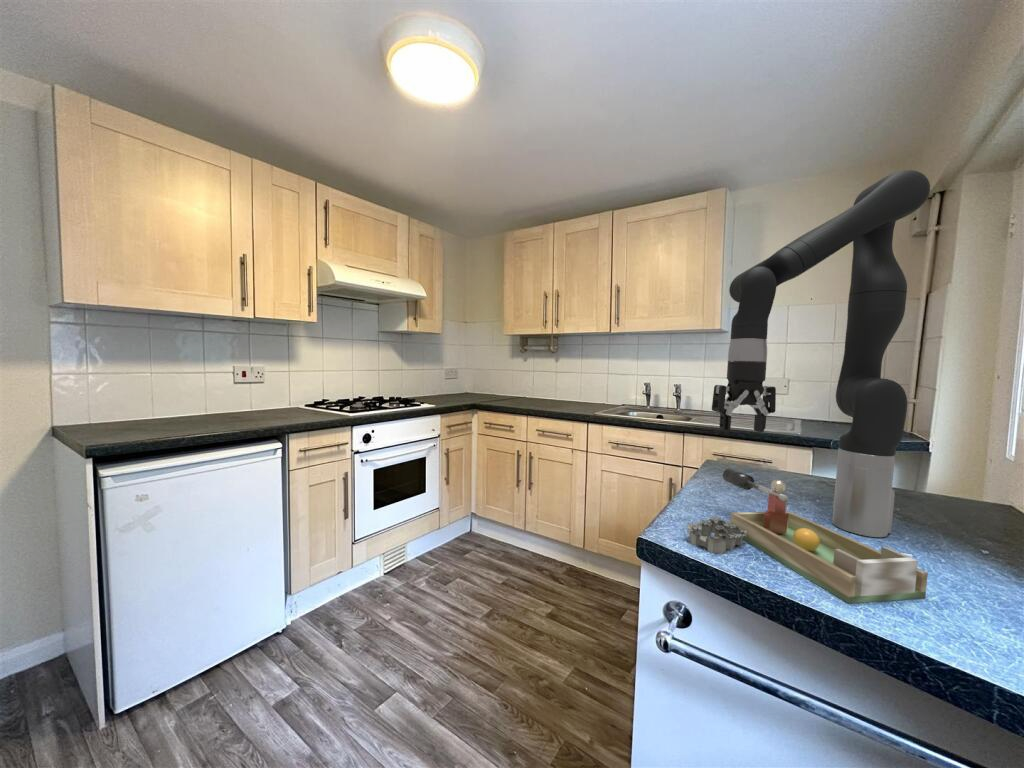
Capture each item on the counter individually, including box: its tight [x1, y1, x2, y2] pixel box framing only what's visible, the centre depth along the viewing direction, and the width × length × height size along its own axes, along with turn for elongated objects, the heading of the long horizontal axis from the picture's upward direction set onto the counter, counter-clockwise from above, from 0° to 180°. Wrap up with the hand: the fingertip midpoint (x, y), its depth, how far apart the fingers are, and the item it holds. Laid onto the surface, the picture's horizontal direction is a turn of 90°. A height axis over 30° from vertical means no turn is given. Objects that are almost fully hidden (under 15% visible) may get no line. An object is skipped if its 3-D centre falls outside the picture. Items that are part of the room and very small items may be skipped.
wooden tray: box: [729, 510, 929, 604], centre depth 72 cm, size 14×25×6 cm, turn 9°
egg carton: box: [686, 515, 747, 555], centre depth 78 cm, size 11×8×4 cm
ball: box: [793, 528, 820, 551], centre depth 73 cm, size 4×4×4 cm
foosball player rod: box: [722, 468, 790, 534], centre depth 86 cm, size 4×16×11 cm, turn 9°
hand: (742, 431), depth 90 cm, fingers open, 8 cm apart
